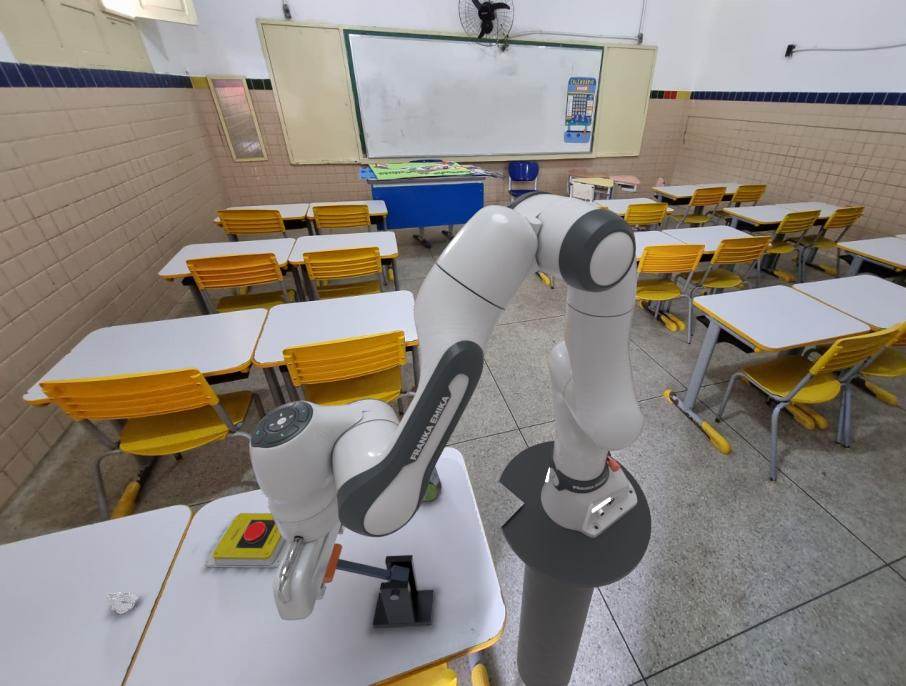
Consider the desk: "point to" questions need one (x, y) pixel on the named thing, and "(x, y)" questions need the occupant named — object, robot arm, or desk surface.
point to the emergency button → (249, 543)
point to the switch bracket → (403, 599)
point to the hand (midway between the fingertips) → (329, 560)
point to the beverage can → (433, 486)
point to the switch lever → (362, 568)
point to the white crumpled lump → (118, 600)
